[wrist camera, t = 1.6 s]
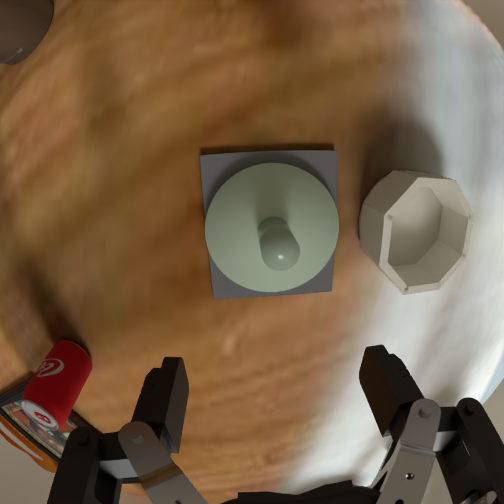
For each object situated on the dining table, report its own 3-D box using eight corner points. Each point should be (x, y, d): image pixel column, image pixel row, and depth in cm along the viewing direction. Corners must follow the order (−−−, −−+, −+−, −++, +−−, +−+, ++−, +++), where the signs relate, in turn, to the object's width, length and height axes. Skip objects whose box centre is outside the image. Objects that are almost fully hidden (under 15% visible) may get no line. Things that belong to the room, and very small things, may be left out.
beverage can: (54, 330, 31) (11, 389, 20) (93, 345, 32) (55, 413, 21) (60, 361, 33) (25, 419, 22) (95, 376, 34) (66, 439, 23)
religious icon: (178, 471, 46) (176, 482, 43) (100, 482, 53) (98, 489, 50) (23, 357, 34) (15, 367, 32) (-8, 400, 42) (-13, 407, 39)
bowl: (360, 168, 25) (386, 175, 20) (445, 173, 25) (477, 182, 20) (354, 272, 29) (374, 298, 24) (434, 265, 29) (459, 285, 24)
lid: (200, 166, 24) (188, 174, 18) (336, 161, 24) (363, 168, 19) (213, 290, 28) (207, 325, 23) (332, 282, 29) (350, 315, 23)
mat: (200, 155, 24) (199, 155, 24) (334, 150, 24) (336, 150, 24) (214, 296, 29) (214, 299, 29) (330, 288, 30) (331, 291, 29)
